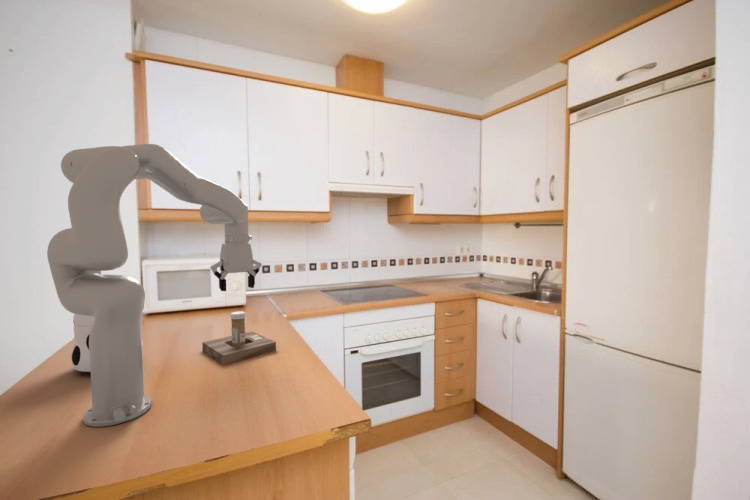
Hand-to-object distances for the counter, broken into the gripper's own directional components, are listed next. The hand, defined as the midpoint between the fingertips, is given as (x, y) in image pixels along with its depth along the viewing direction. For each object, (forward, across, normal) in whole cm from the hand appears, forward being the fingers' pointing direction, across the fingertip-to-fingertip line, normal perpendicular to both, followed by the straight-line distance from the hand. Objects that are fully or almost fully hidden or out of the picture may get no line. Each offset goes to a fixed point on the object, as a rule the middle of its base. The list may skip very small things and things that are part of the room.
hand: (237, 289), depth 118 cm
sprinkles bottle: (+22, 0, 0) cm, 22 cm away
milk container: (+22, +34, -15) cm, 43 cm away
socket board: (+22, 0, 0) cm, 22 cm away
